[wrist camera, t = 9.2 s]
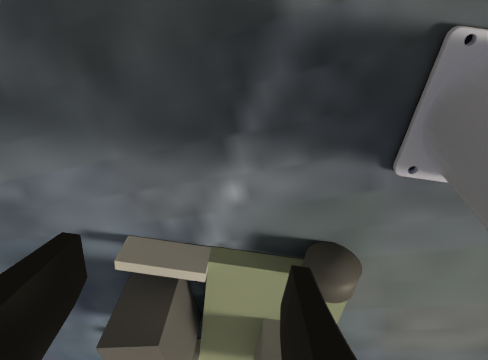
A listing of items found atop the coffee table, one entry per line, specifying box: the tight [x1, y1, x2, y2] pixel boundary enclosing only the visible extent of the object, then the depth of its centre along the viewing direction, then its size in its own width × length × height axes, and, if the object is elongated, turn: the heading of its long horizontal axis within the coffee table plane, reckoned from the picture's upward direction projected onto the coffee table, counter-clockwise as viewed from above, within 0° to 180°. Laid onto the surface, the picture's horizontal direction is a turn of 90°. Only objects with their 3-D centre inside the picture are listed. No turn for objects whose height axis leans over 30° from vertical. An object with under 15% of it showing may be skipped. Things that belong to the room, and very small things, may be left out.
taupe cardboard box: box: [96, 272, 201, 360], centre depth 25 cm, size 4×6×6 cm, turn 9°
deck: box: [114, 236, 362, 360], centre depth 25 cm, size 16×16×6 cm
